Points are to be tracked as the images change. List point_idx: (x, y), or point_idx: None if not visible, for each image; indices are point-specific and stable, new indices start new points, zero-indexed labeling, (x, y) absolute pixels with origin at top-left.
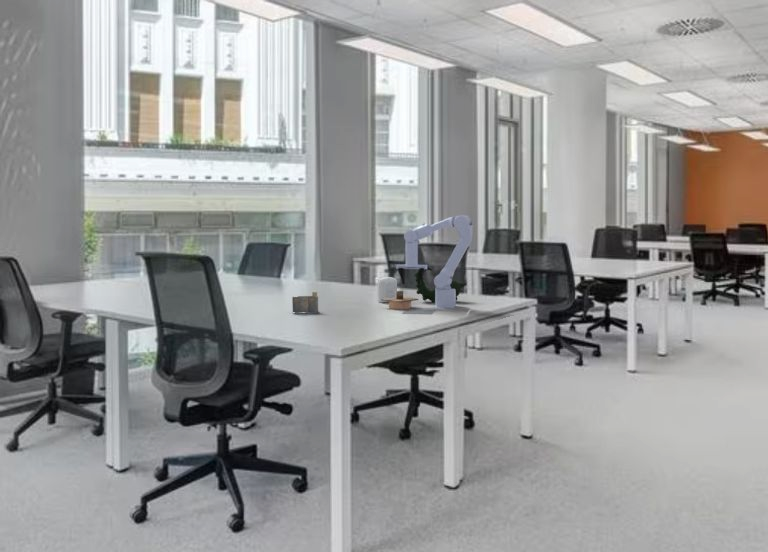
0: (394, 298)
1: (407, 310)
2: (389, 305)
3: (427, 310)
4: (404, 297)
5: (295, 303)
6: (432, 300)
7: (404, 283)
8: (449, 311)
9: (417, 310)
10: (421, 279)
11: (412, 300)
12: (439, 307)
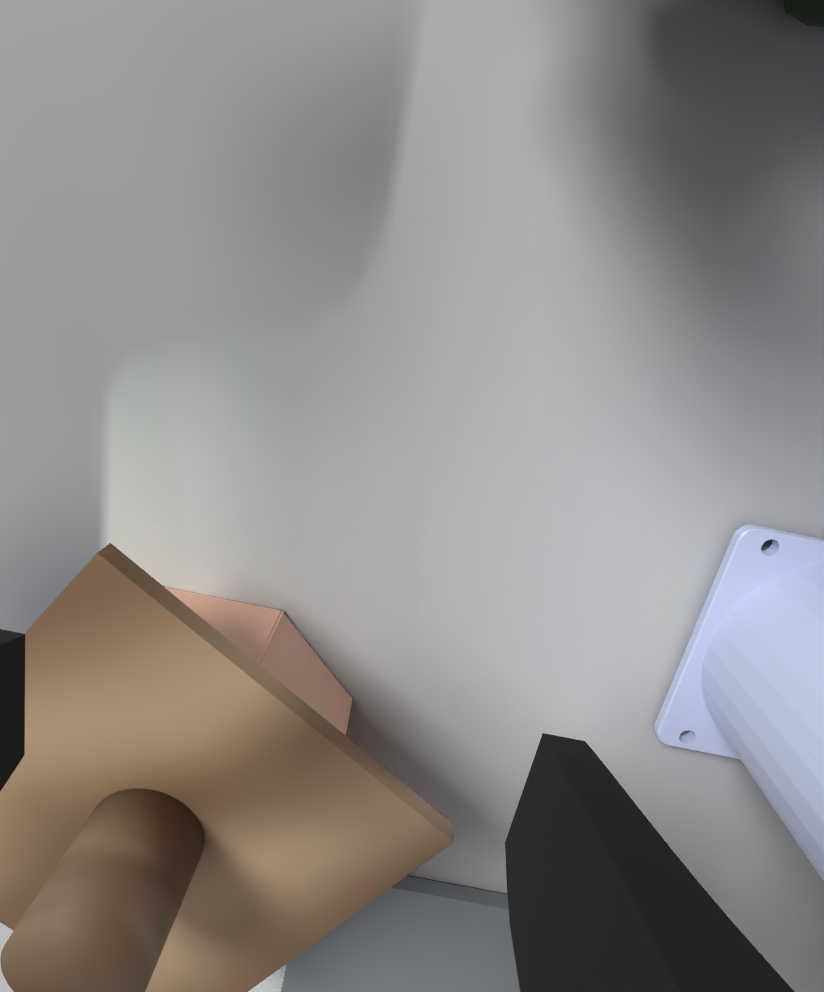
0: (47, 779)
1: None
2: None
3: None
4: (205, 674)
5: None
6: (810, 12)
7: (10, 686)
8: (790, 930)
9: (424, 945)
10: (686, 893)
11: (357, 900)
12: (734, 757)
